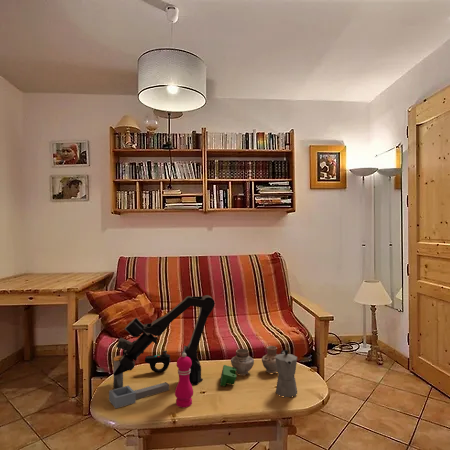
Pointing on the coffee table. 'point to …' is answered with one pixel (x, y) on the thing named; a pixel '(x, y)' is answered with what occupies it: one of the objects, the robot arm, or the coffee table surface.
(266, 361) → the pottery
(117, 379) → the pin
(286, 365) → the coffeepot
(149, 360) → the controller
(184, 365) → the pepper mill
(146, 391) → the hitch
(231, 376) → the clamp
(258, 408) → the coffee table surface
